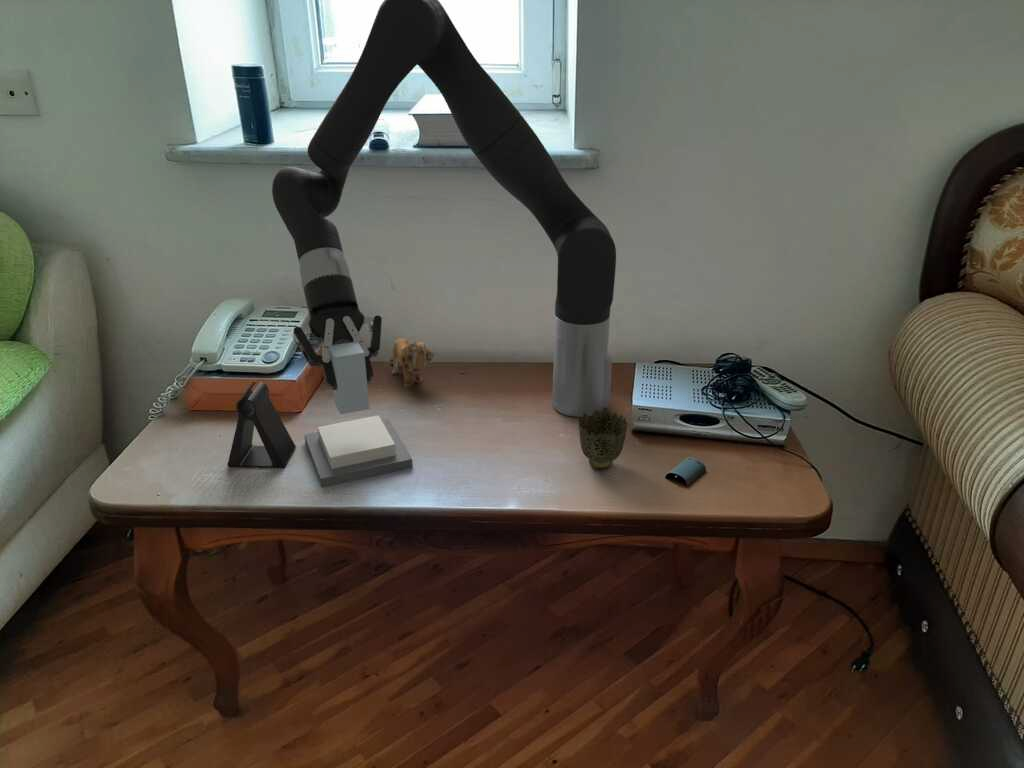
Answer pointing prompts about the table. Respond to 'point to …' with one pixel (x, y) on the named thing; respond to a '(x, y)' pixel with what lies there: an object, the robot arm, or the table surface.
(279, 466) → the black phone stand
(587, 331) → the robot arm
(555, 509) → the table surface
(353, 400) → the blue-grey block
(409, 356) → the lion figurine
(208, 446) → the table surface
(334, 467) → the display stand
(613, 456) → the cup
